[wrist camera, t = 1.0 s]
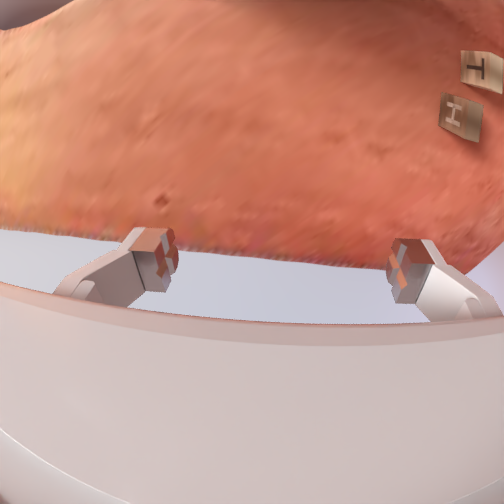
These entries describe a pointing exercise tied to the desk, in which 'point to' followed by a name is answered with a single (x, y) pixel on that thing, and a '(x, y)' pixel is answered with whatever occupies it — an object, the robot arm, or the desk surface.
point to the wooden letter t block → (482, 70)
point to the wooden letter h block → (461, 116)
